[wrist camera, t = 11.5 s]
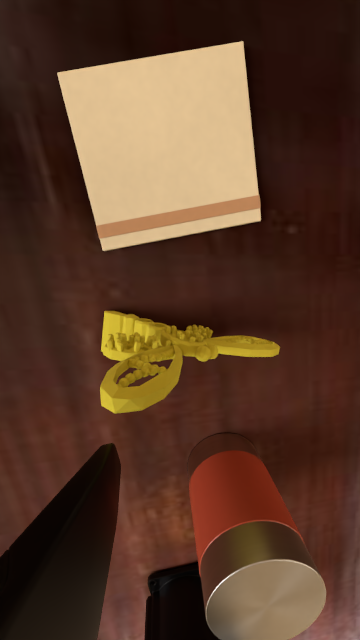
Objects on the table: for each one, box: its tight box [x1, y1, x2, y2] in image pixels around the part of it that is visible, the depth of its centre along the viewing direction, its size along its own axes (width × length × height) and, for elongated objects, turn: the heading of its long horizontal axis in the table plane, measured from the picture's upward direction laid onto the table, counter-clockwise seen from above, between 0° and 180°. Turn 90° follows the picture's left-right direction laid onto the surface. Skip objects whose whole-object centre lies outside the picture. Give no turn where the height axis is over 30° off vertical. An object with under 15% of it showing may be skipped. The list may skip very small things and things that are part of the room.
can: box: [187, 433, 326, 640], centre depth 16 cm, size 6×6×9 cm
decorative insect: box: [100, 311, 280, 414], centre depth 15 cm, size 13×3×10 cm
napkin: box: [57, 41, 261, 251], centre depth 15 cm, size 11×10×1 cm
